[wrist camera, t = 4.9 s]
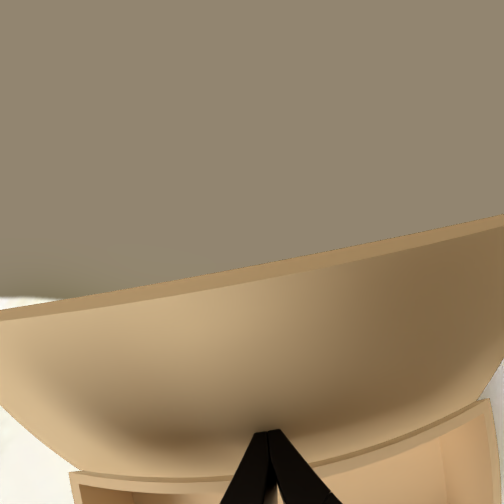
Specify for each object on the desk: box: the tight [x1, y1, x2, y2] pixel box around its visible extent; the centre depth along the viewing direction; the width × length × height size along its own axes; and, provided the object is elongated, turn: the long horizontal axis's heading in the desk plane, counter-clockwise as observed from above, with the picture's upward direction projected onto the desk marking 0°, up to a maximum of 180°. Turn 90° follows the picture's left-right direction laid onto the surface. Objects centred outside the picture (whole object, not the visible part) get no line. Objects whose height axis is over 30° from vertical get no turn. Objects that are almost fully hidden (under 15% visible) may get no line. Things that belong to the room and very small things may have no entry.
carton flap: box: [0, 214, 504, 478], centre depth 8 cm, size 10×20×1 cm
